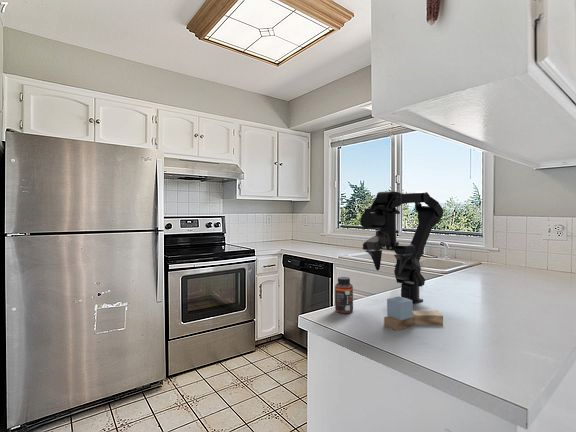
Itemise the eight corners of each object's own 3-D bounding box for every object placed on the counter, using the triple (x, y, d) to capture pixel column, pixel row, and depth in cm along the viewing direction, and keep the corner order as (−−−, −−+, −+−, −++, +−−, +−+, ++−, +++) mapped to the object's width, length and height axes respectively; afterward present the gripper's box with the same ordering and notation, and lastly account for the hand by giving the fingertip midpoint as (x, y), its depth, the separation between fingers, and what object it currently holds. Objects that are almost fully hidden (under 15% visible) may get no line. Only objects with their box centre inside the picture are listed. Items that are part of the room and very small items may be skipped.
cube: (398, 312, 100) (398, 296, 100) (412, 317, 96) (412, 300, 96) (387, 315, 98) (387, 298, 98) (400, 320, 94) (400, 302, 93)
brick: (437, 320, 101) (437, 310, 101) (443, 325, 97) (442, 315, 97) (410, 320, 102) (410, 310, 102) (414, 325, 98) (414, 315, 98)
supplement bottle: (353, 314, 108) (352, 279, 107) (334, 313, 109) (334, 279, 108) (353, 309, 113) (352, 276, 113) (335, 308, 115) (335, 275, 114)
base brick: (402, 321, 101) (402, 312, 101) (414, 326, 97) (414, 316, 97) (384, 327, 97) (384, 316, 97) (396, 331, 93) (396, 321, 93)
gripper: (351, 227, 118) (352, 270, 119) (393, 229, 103) (394, 280, 103) (373, 226, 124) (373, 267, 125) (416, 228, 109) (416, 275, 109)
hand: (387, 272), depth 115 cm, fingers open, 9 cm apart
